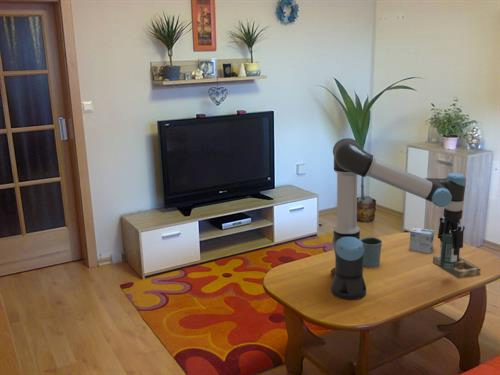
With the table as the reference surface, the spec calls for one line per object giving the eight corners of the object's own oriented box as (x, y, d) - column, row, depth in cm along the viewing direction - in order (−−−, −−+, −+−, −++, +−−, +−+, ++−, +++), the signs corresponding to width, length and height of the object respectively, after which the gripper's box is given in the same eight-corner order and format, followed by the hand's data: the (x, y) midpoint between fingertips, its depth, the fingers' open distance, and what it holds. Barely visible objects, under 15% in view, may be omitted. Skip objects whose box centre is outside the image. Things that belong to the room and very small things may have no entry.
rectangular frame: (459, 278, 232) (459, 272, 231) (432, 262, 249) (433, 256, 249) (480, 274, 235) (480, 268, 234) (452, 259, 253) (453, 253, 252)
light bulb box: (433, 249, 265) (434, 230, 262) (430, 254, 259) (431, 234, 257) (412, 246, 270) (413, 226, 268) (408, 250, 265) (409, 230, 262)
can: (453, 264, 231) (456, 232, 227) (455, 269, 226) (459, 237, 222) (439, 263, 233) (442, 232, 229) (441, 268, 227) (444, 236, 223)
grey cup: (360, 267, 246) (360, 244, 243) (359, 259, 256) (360, 236, 253) (381, 268, 245) (382, 245, 241) (380, 260, 254) (381, 237, 251)
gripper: (476, 214, 214) (470, 265, 220) (446, 201, 232) (441, 249, 238) (461, 216, 212) (455, 267, 218) (432, 203, 230) (427, 251, 236)
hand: (448, 258), depth 228 cm, fingers closed on can, 6 cm apart
